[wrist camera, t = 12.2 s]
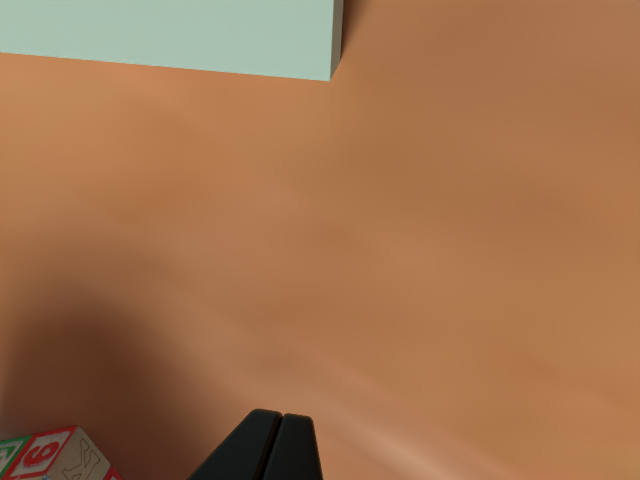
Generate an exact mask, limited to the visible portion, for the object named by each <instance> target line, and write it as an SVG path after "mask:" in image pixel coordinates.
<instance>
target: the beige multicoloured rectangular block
mask: <svg viewBox="0 0 640 480" xmlns="http://www.w3.org/2000/svg"><path fill="white" fill-rule="evenodd" d="M0 480H123V479H122V478H121V477H120V476H119V474H118V473H117V472H116V471H115V470H114V468H113V467H112V466H111V465H110V463H109V462H108V460H107V459H106V458H105V457H104V455H103V454H102V453H101V452H100V451H99V449H98V448H97V447H96V446H95V444H94V443H93V442H92V441H91V439H90V438H89V437H88V436H87V435H86V433H85V432H84V431H83V430H82V428H81V427H79V426H72V427H67V428H62V429H57V430H51V431H47V432H42V433H37V434H33V435H31V436H26V437H20V438H15V439H10V440H5V441H0Z"/></svg>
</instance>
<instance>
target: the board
mask: <svg viewBox="0 0 640 480" xmlns="http://www.w3.org/2000/svg"><path fill="white" fill-rule="evenodd" d="M343 1H344V0H0V52H5V53H17V54H28V55H40V56H51V57H62V58H74V59H85V60H96V61H108V62H119V63H130V64H142V65H153V66H164V67H176V68H187V69H198V70H210V71H221V72H232V73H244V74H255V75H266V76H278V77H289V78H301V79H312V80H323V81H330V80H331V78H332V76H333V74H334V72H335V70H336V68H337V66H338V65H339V63H340V55H341V37H342V19H343Z"/></svg>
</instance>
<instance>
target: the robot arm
mask: <svg viewBox="0 0 640 480" xmlns="http://www.w3.org/2000/svg"><path fill="white" fill-rule="evenodd" d="M187 480H323V475H322V469H321V464H320V458H319V452H318V447H317V441H316V435H315V430H314V424H313V420H312V418H310V417H309V416H303V415H297V414H290V413H287V414H285V415H284V416H282V414H281V413H280V412H278V411H271V410H265V409H255V410H253V411H251V412H250V413H249V414H248V415H247V416H246V417H245V418H244V420H243V421H242V422H241V423H240V424H239V425H238V426H237V427H236V428H235V429H234V430H233V431H232V432H231V433H230V434H229V435H228V436H227V437H226V438H225V440H224V441H223V442H222V443H221V444H220V445H219V446H218V447H217V448H216V449H215V450H214V451H213V452H212V453H211V454H210V455H209V456H208V457H207V458H206V460H205V461H204V462H203V463H202V464H201V465H200V466H199V467H198V468H197V469H196V470H195V471H194V472H193V473H192V474H191V475H190V476H189V477H188V479H187Z"/></svg>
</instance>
